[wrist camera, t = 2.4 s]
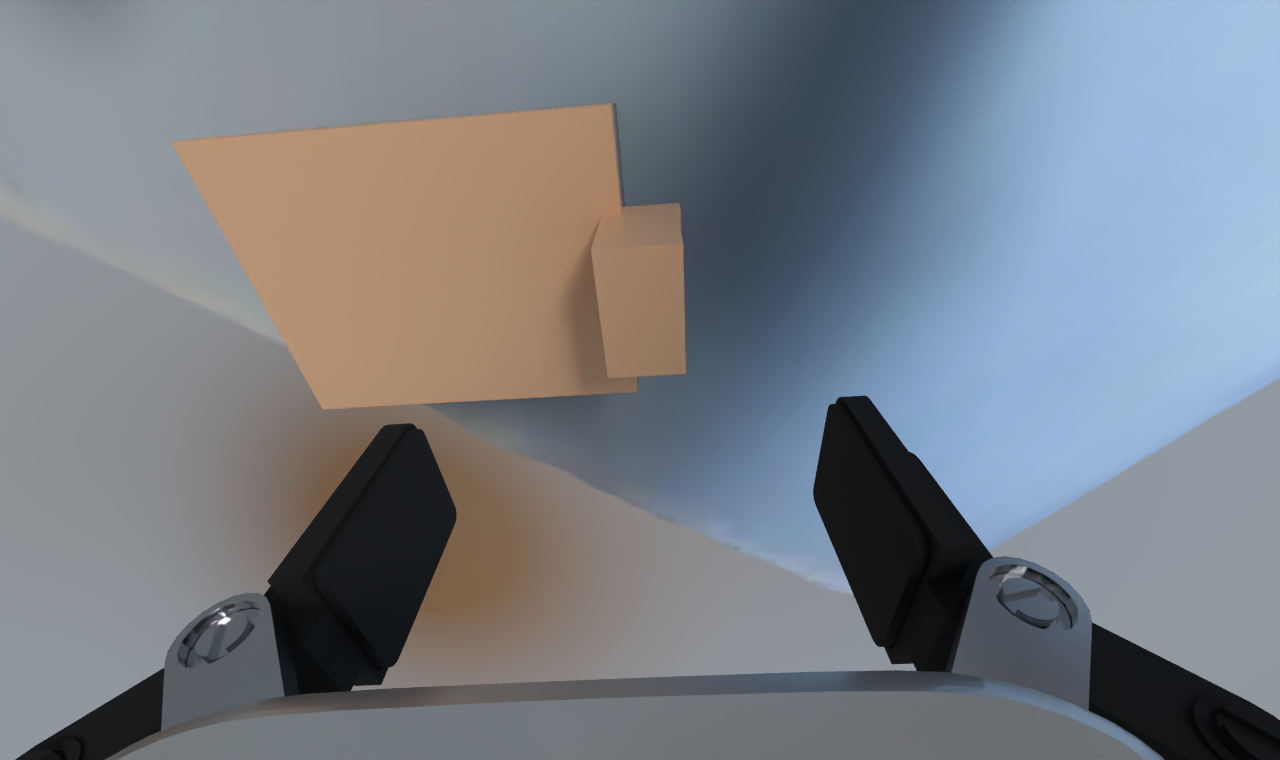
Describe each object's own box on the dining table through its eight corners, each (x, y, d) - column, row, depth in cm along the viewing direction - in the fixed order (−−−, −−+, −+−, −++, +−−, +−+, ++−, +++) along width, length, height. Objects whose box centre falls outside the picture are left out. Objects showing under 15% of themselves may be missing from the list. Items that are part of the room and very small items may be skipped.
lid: (674, 96, 18) (687, 106, 13) (681, 364, 25) (692, 448, 20) (220, 134, 19) (44, 160, 14) (347, 383, 26) (265, 468, 21)
